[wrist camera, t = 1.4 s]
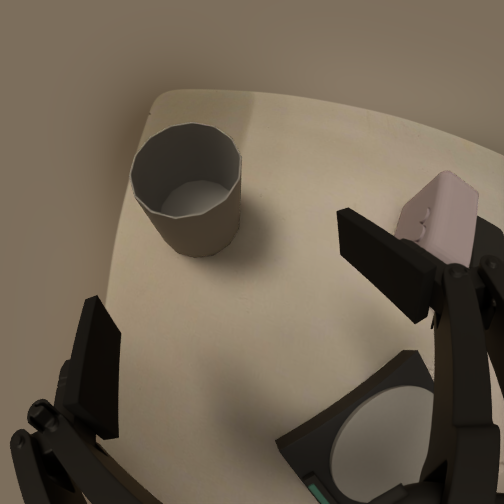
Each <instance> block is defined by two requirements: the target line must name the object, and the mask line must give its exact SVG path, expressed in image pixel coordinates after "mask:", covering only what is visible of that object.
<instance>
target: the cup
mask: <svg viewBox="0 0 504 504" xmlns="http://www.w3.org/2000/svg"><path fill="white" fill-rule="evenodd" d="M241 166H242V156H241V154H240V152H239V150H238V148H237V146H236V144H235V142H234V140H233V138H231V137H230V136H229V135H227V134H226V133H224V132H223V131H221V130H220V129H218V128H217V127H216V126H212V125H207V124H202V123H196V122H189V123H183V124H177V125H172V126H169V127H167V128H165V129H163V130H161V131H160V132H158V133H156V134H154V135H153V136H151V137H149V138H148V140H147V141H146V142H145V143H144V144H143V145H142V147H141V148H140V149H139V150H138V152H137V153H136V154H135V156H134V159H133V163H132V167H131V170H130V174H129V178H130V182H131V186H132V190H133V194H134V197H135V198H136V200H137V201H138V203H139V204H140V206H141V207H142V209H143V210H144V212H145V213H146V214H147V216H148V217H149V219H150V220H151V222H152V223H153V225H154V226H155V227H156V229H157V230H158V232H159V233H160V235H161V236H162V237H163V239H164V240H165V241H166V242H167V243H168V244H169V245H170V246H171V247H172V248H173V249H174V250H175V251H176V252H177V253H181V254H184V255H187V256H191V257H194V258H197V257H203V256H210V255H214V254H216V253H217V252H219V251H220V250H222V249H223V248H225V247H226V246H228V245H229V244H230V243H231V241H232V239H233V238H234V236H235V234H236V233H237V231H238V229H239V220H240V199H241Z"/></svg>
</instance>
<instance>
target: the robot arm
mask: <svg viewBox="0 0 504 504" xmlns="http://www.w3.org/2000/svg"><path fill="white" fill-rule="evenodd" d="M337 221H338V232H339V244H340V255H341V256H342V257H343V258H345V259H346V260H347V261H348V262H349V263H350V264H351V265H352V266H354V267H355V268H356V269H357V270H358V271H359V272H360V273H361V274H362V275H363V276H365V277H366V278H367V279H368V280H369V281H370V282H371V283H372V284H373V285H374V286H375V287H377V288H378V289H379V290H380V291H381V292H382V293H383V294H384V295H385V296H386V297H387V298H388V299H389V300H390V301H391V302H392V303H394V304H395V305H396V306H397V307H398V308H399V309H400V310H401V311H402V312H403V313H404V314H405V315H406V316H407V317H408V318H409V319H410V320H411V321H412V322H413V323H414V324H416V323H418V322H420V321H421V320H423V319H424V318H426V317H427V316H428V311H429V307H431V308H432V309H433V310H434V311H435V312H434V316H433V320H432V324H431V329H433V326H434V342H435V372H434V397H433V411H432V422H431V431H430V439H429V446H428V453H427V457H426V459H425V462H424V464H423V467H422V470H421V474H420V479H419V482H417V483H411V484H407V485H404V486H403V485H402V483H400V484H398V485H397V486H395V487H393V488H392V489H390V490H388V491H386V492H385V493H383V494H381V495H379V496H378V497H376V498H374V499H372V500H371V501H370V502H368V503H367V504H504V493H497V492H496V491H497V482H498V473H499V460H500V429H499V427H498V425H495V424H493V421H492V399H491V383H490V372H489V363H488V355H489V357H490V360H491V363H492V365H493V368H494V371H495V374H496V377H497V380H498V383H499V386H500V389H501V392H502V395H503V398H504V263H503V261H502V260H501V259H500V258H498V257H496V256H494V255H484V256H482V257H481V258H480V262H479V266H477V267H473V268H469V269H468V268H467V267H466V266H464V265H462V264H458V263H450V264H446V263H444V262H443V261H441V260H440V259H439V258H437V257H436V256H434V255H433V254H431V253H430V252H428V251H426V250H425V249H424V248H422V247H420V246H419V245H418V244H416V243H415V242H413V241H411V240H407V239H404V238H402V239H400V240H399V239H397V238H396V237H394V236H393V235H391V234H390V233H388V232H387V231H385V230H384V229H382V228H381V227H379V226H377V225H376V224H374V223H373V222H371V221H370V220H368V219H366V218H365V217H363V216H362V215H360V214H358V213H357V212H355V211H353V210H352V209H350V208H345V209H342V210H339V211H337ZM494 300H495V302H494ZM495 303H496V304H495ZM120 344H121V332H120V331H119V329H118V328H117V326H116V325H115V323H114V321H113V320H112V318H111V317H110V315H109V314H108V312H107V310H106V309H105V307H104V305H103V304H102V302H101V300H100V299H99V297H98V296H97V295H96V296H93V297H91V298H88V299H86V300H85V302H84V306H83V309H82V313H81V317H80V321H79V325H78V329H77V333H76V337H75V341H74V345H73V350H72V354H71V359H70V360H66V361H65V363H64V365H63V366H62V368H61V371H60V375H59V381H58V385H57V386H58V388H57V390H56V396H55V402H54V406H52V405H51V404H50V403H49V402H48V401H47V400H45V399H40V400H37V401H36V402H35V403H33V404H32V406H31V407H30V409H29V411H28V416H27V419H28V423H29V424H30V425H32V426H33V427H34V428H35V429H37V430H38V431H37V432H35V433H33V434H29V433H28V432H27V431H26V430H24V429H20V430H18V431H16V432H15V433H14V434H13V436H12V438H11V441H10V449H11V454H12V459H13V463H14V467H15V471H16V475H17V479H18V483H19V486H20V490H21V493H22V497H23V500H24V503H25V504H87V502H86V500H85V498H84V496H83V494H84V495H85V496H86V497H87V498H88V500H89V501H90V502H91V503H92V504H163V503H162V502H160V501H159V500H158V499H157V498H156V497H154V496H153V495H152V494H151V493H150V492H148V491H147V490H146V489H145V488H144V487H143V486H141V485H140V484H139V483H138V482H137V481H136V480H135V479H134V478H133V477H132V476H131V475H129V474H128V473H127V472H126V471H125V470H124V469H123V468H122V467H121V466H120V465H119V464H118V463H117V462H116V461H115V460H114V459H113V458H112V457H111V456H110V455H109V454H108V453H107V452H106V451H105V449H104V448H103V447H102V446H101V445H100V444H98V443H97V442H96V434H97V435H98V436H99V437H101V438H102V439H103V440H108V439H114V438H119V425H118V388H119V360H120ZM487 352H488V355H487ZM81 491H82V492H83V494H82V492H81Z"/></svg>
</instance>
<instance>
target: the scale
mask: <svg viewBox="0 0 504 504" xmlns="http://www.w3.org/2000/svg"><path fill="white" fill-rule="evenodd" d="M433 397H434V382H433V379H432V377H431V375H430V373H429V371H428V369H427V367H426V365H425V363H424V361H423V360H422V358H421V356H420V354H419V352H418V350H403V351H401V352H400V353H399V354H398V355H397V356H396V357H394V358H393V359H392V360H391V361H390V362H388V363H387V364H386V365H385V366H384V367H382V368H381V369H380V370H379V371H377V372H376V373H375V374H374V375H372V376H371V377H370V378H369V379H367V380H366V381H365V382H363V383H362V384H361V385H359V386H358V387H357V388H355V389H354V390H353V391H351V392H350V393H349V394H347V395H346V396H344V397H343V398H342V399H340V400H339V401H337V402H336V403H334V404H333V405H331V406H330V407H329V408H327V409H326V410H324V411H323V412H321V413H320V414H318V415H316V416H315V417H313V418H312V419H310V420H309V421H307V422H305V423H304V424H302V425H301V426H299V427H297V428H296V429H294V430H292V431H291V432H289V433H287V434H285V435H284V436H282V437H280V438H278V439H277V440H275V442H276V444H277V447H278V449H279V452H280V453H281V454H282V456H283V457H284V458H285V460H286V461H287V462H288V464H289V465H290V466H291V468H292V469H293V470H294V472H295V473H296V474H297V476H298V477H299V478H300V479H301V481H302V482H303V483H304V485H305V486H306V487H307V488H308V490H309V491H310V492H311V493H312V495H313V496H314V497H315V498H316V499H317V501H318V502H319V503H320V504H367V503H368V502H370V501H371V500H372V499H374V498H376V497H378V496H379V495H381V494H383V493H385V492H386V491H388V490H390V489H392V488H393V487H395V486H397V485H398V484H400V483H402V485H403V486H404V485H407V484H411V483H417V482H419V479H420V474H421V470H422V467H423V464H424V462H425V459H426V457H427V453H428V446H429V439H430V431H431V422H432V411H433Z"/></svg>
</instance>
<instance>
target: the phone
mask: <svg viewBox="0 0 504 504" xmlns="http://www.w3.org/2000/svg"><path fill="white" fill-rule="evenodd" d="M484 255H494V256H496V257H498V258H500V259H501V260H502V261H503V263H504V234H503V232H502V231H501V229H499V228H498V227H496V226H495V225H493V224H491V223H490V222H488V221H486V220H484V219H483V218H481V217H479V216H477V219H476V227H475V235H474V242H473V248H472V254H471V260H470V268H473V267H477V266H479V262H480V258H481V257H482V256H484ZM494 302H495V300H494ZM495 304H496V303H495Z"/></svg>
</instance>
